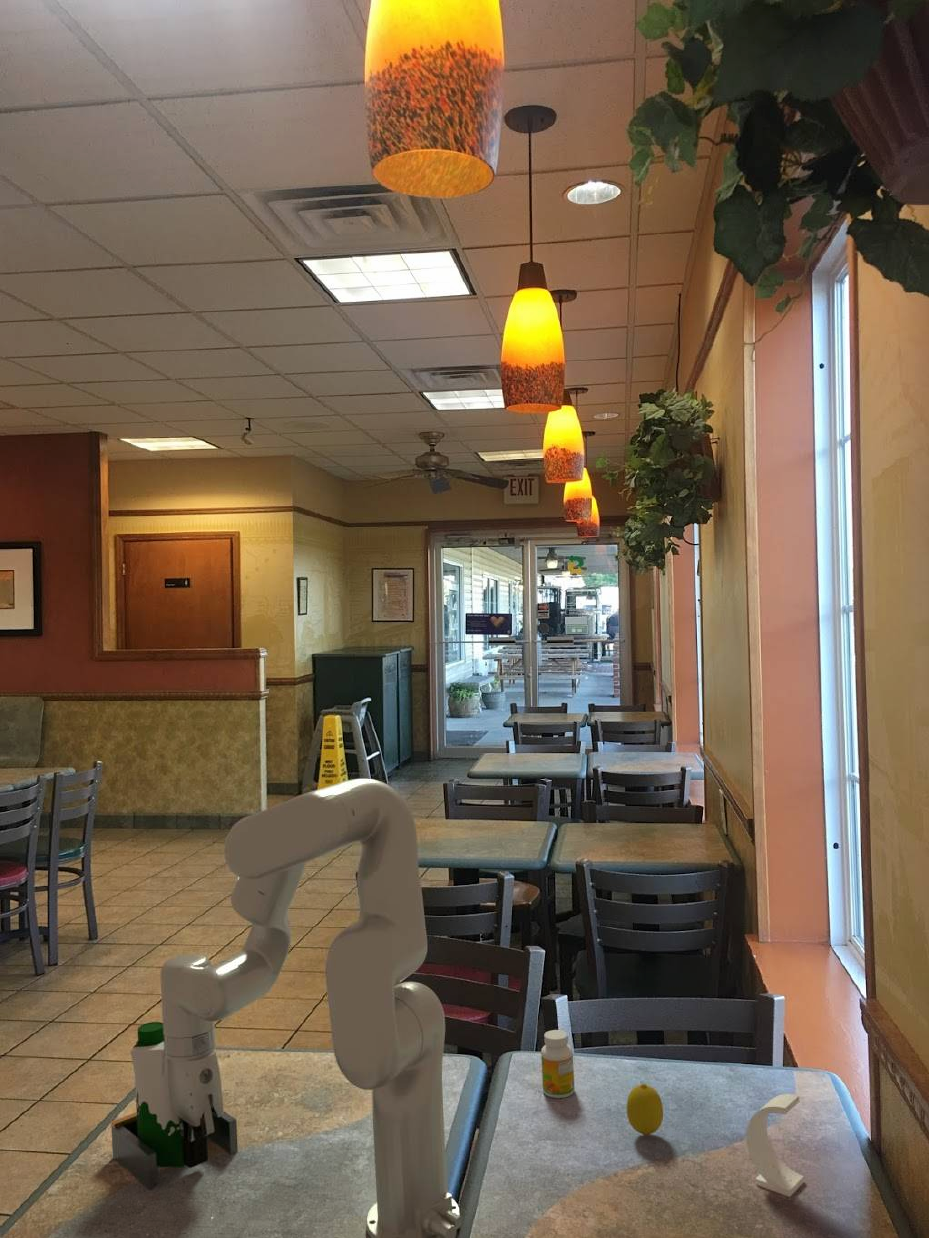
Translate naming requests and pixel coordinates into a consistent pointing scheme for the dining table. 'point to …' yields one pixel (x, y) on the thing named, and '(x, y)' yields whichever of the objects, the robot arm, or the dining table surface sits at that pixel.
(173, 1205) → the dining table surface
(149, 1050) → the soya milk
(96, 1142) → the dining table surface
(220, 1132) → the bracket
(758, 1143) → the headphone stand
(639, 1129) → the lemon
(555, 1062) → the supplement bottle
